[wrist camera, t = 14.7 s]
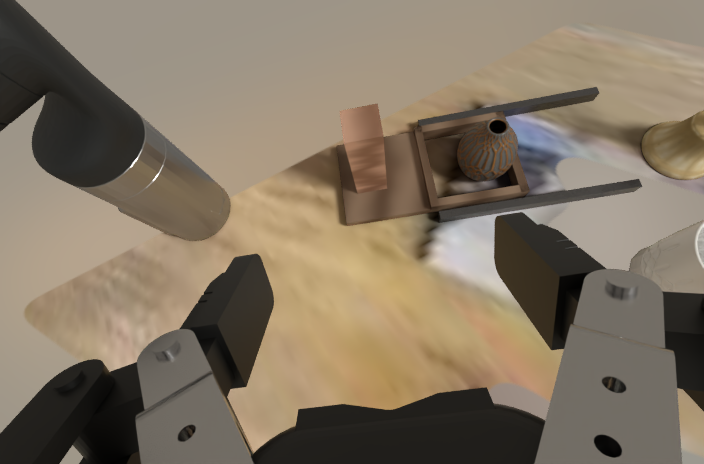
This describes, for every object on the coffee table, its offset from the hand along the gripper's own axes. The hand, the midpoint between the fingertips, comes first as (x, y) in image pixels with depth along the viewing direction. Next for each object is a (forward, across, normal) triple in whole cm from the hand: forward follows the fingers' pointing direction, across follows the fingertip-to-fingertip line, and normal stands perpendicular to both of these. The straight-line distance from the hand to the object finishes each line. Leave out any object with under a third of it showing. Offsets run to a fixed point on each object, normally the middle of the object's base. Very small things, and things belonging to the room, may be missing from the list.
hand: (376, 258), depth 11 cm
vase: (+35, -15, +9) cm, 39 cm away
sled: (+35, -8, +8) cm, 37 cm away
